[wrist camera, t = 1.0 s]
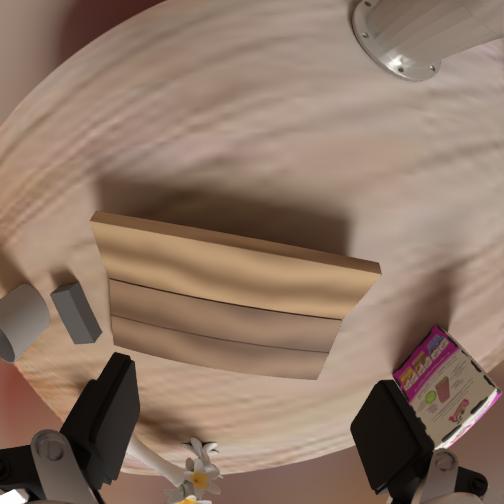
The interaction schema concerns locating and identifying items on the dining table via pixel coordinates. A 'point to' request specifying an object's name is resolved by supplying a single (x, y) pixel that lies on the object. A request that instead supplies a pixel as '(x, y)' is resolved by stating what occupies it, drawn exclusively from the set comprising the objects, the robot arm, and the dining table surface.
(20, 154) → the dining table surface
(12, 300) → the cup
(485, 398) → the candy bar box
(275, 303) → the plank
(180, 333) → the laid board
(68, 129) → the dining table surface
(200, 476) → the flower vase
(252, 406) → the dining table surface
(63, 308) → the block
